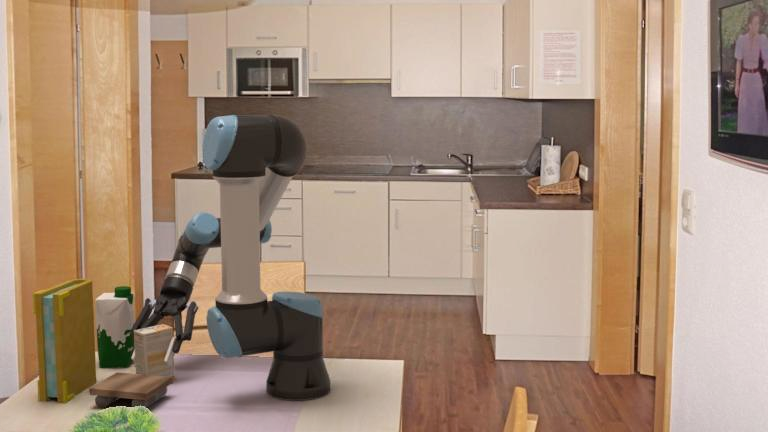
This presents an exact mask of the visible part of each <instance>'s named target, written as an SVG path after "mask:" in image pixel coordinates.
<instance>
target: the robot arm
mask: <svg viewBox="0 0 768 432" xmlns="http://www.w3.org/2000/svg"><path fill="white" fill-rule="evenodd" d="M202 158H203V164H204V166H205V168H206V169H207V170H209V171H212V178H213V179H214V180H215V181H216V182H217V183H218V185H219V205H220V206H219V207H220V208H219V209H220V212H219V213H220V215H219V217H216V216H215V215H214V214H211V213H209V212H205V211H204V212H198V213H196V214H194V215H193V216H192V217H191V219H190V220H189V221H188V222H187V224H186V225H185V226H186V227H185V229H183V231H182V233H181V235H180V236H179V239H178V241H177V246H176V248H175V251H174V254H173V257H172V261H170V264H169V266H168V269H167V272H166V275H165V279H164V281H163V282H162V285H161V288H160V293H159V296H158V297H157V298H156V299H150V298H146V299H145V301H144V306H143V308H142V309H141V311H140V313H139V314H138V317H137V318H136V320H135V321H134V325H133V327H132V329H131V332H132V333H133V334H134V330H138V329H143V328H148V327H152V326H157V325H158V323H159V322H160V321H161V320H163V319H164V318H165V317H173V321H174V329H175V334H174V336H175V337H174V336H173V337H172V339H171V342H170V345H169V348H168V351H167V354H166V356H165V359H164V362H165V363H166V365H167V366H169V367H171V364H172V361H173V359H174V360H175V356H176V354H178V353H179V352H180V350H181V347H182V344H183V342H185V341H188V342H189V341H191V340H192V338H193V337H192V336H193V330H194V326H195V325H194V324H195V317H196V313H197V312H198V310H199V306H198V304H197V303H196V301H195V300H193V301H191V302H190V299H191V297H192V293H193V291H194V287H195V284H196V282H197V278H198V276H199V274H200V270H201V267H202V264H203V261H204V260H205V257H206V255H207V254H208V251H209V249H216V248H220V252H221V253H220V258H221V291H219V293H218V294H216V296H215V300H214V301H215V305H214V306H211V307H210V308H208V310H207V312H206V313H207V314H206V327H207V332H208V336H209V339H210V342H211V345H212V347H213V348H214V350H215V352H216V354H218V355H219V356H220V357H222V358H226V359H227V358H242V357H244V356H245V357H246V356H252V355H258V354H265V353H272V354H273V356H272V357H273V358H272V363H271V364H270V365H271V366H270V369H269V371H268V375H267V377H266V385H265V389H266V390H265V391H266V394H267V395H268V396H271V397H273V398H276V399H278V400H279V399H280V400H287V401H305V400H307V401H308V400H312V399H313V400H314V399H318V398H320V397H321V398H322V397H324V396H326V395H327V394H329V393H330V391H331V390H332V389H331V378H330V374H329V373H328V369H327V365H326V363H325V360H324V317H325V316H324V310H323V302H322V300H321V299H320V298H319V297H318V296H316V295H313V294H309V293H305V292H299V291H298V292H297V291H277V292H273V294H272V297H271V300H268V295H267V294H266V293H265V292H264V291H263V290H262V288H261V250H260V249H261V246H260V245H261V244H266V243H267V242H269V241H270V240H271V237H272V231H273V230H272V229H273V228H272V223H271V217H272V216H273V214H274V212H275V210H276V208H277V207H278V205H279V203H280V201H281V199H282V197H283V195H284V194H285V193H286V190H287V188H288V186H289V184H290V182H291V181H292V178H293V177H295V176H298V175H299V174H300V172H301V171H302V169H303V168H304V165H305V164H306V162H307V158H308V142H307V139H306V136H305V134H304V132H303V130H302V129H301V128H300V127H299V125H298V124H297V123H295V122H294V121H293V120H292V119H290V118H288V117H286V116H283V115H277V114H269V115H266V114H264V115H263V114H262V115H261V114H259V115H256V114H255V115H252V114H251V115H247V114H246V115H242V114H241V115H235V114H231V115H230V114H229V115H224V116H223V115H222V116H215V117H214V118H212V119H211V120H210V121H209V123H208V124H207V127H206V129H205V131H204V137H203V141H202ZM186 309H187V310H186ZM185 310H186V315H185V316H186V317H185V323H184V328H183V315H182V312H184V311H185ZM133 347H134V352H133V355H132V357H131V359H132V360H133V363H134V364H135V345H134V344H133Z"/></svg>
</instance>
